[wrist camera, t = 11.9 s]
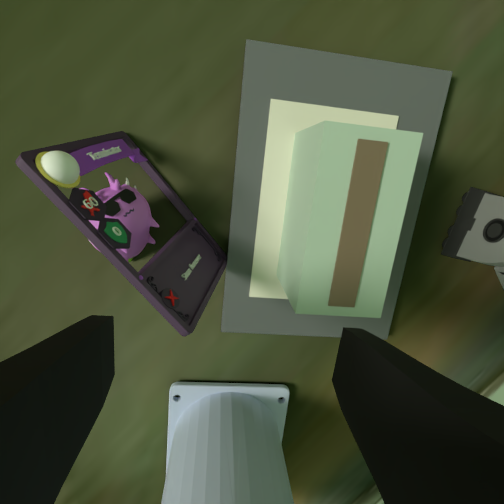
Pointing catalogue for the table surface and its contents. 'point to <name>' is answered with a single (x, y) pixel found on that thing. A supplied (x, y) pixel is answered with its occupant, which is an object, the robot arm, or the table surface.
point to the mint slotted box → (344, 216)
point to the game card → (131, 225)
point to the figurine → (478, 231)
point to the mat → (279, 163)
